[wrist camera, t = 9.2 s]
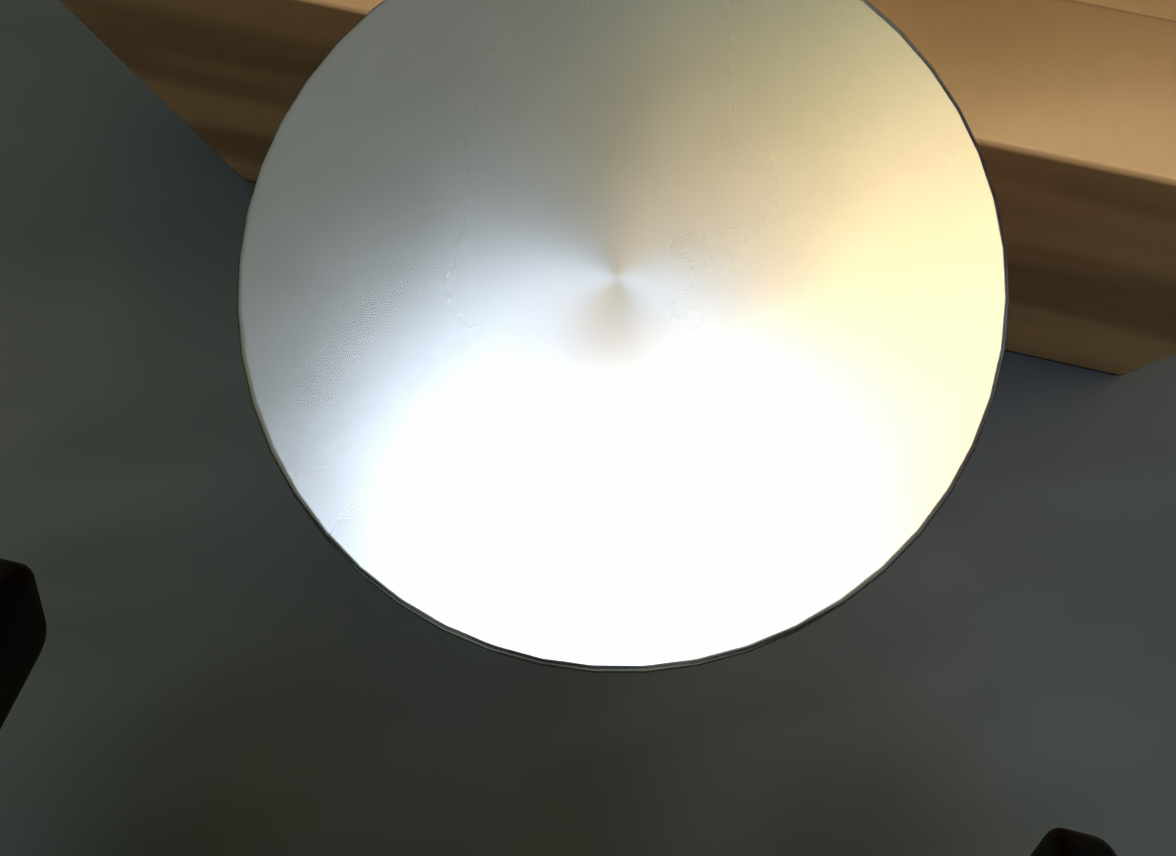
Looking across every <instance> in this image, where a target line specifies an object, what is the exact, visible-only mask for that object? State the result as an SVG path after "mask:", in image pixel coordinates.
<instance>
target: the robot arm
mask: <svg viewBox="0 0 1176 856" xmlns="http://www.w3.org/2000/svg"><path fill="white" fill-rule="evenodd" d="M45 638H46V620H45V616H44V612H43V608H42V604H41V601H40V597H39V593H38V589H37V585H36V581H35V577H34V574H33V572H32V571H31V569H30V568H29V567H27V566H26V565H24V564H21V563H17V562H13V561H9V560H5V559H1V558H0V729H1V727H2V725H3V723H4V721H5V719H6V718H7V716H8V714H9V712H10V710H11V708H12V706H13V704H14V702H15V700H16V699H17V697H18V695H19V693H20V691H21V689H22V687H23V685H24V683H25V681H26V680H27V678H28V676H29V674H30V672H31V670H32V668H33V666H34V664H35V662H36V661H37V659H38V657H39V655H40V653H41V651H42V648H43V645H44V642H45ZM1031 856H1117V855H1116V854H1115V852H1114V851H1113V850H1112V848H1111V847H1110V846H1109V845H1108V844H1107V843H1106V842H1105V841H1104V840H1102V839H1100V838H1098V837H1096V836H1092V835H1088V834H1084V833H1080V832H1077V831H1073V830H1069V829H1065V828H1055V829H1052V830H1050V831H1049V832H1048V833H1047V834H1046V835H1045V836H1044V838H1043V839H1042V840H1041V842H1040V843H1039V845H1038V846H1037V847H1036V849H1035V850H1034V851H1033V853H1032V854H1031Z"/></svg>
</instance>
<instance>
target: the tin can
mask: <svg viewBox="0 0 1176 856" xmlns="http://www.w3.org/2000/svg"><path fill="white" fill-rule="evenodd" d="M1008 310H1009V282H1008V261H1007V248H1006V242H1005V237H1004V231H1003V226H1002V221H1001V215H1000V210H999V205H998V200H997V197H996V194H995V191H994V188H993V185H992V182H991V179H990V176H989V173H988V170H987V167H986V164H985V161H984V158H983V155H982V152H981V150H980V148H979V146H978V144H977V142H976V140H975V138H974V136H973V134H972V132H971V129H970V127H969V125H968V123H967V121H966V119H965V117H964V115H963V113H962V111H961V109H960V107H959V106H958V104H957V103H956V101H955V100H954V98H953V97H952V95H951V94H950V92H949V91H948V89H947V88H946V86H945V85H944V83H943V82H942V80H941V79H940V77H939V76H938V74H937V73H936V71H935V70H934V68H933V67H932V66H931V65H930V63H929V62H928V61H927V60H926V59H925V58H924V56H923V55H922V54H921V53H920V52H919V51H918V50H917V48H916V47H915V46H914V45H913V44H912V43H911V42H910V40H909V39H908V38H907V37H906V36H905V35H904V33H903V32H902V31H901V30H900V29H899V28H897V27H896V26H895V25H894V24H893V23H892V22H891V21H890V20H888V19H887V18H886V17H885V16H884V15H883V14H882V13H881V12H879V11H878V10H877V9H876V8H875V7H874V6H873V5H871V4H870V3H869V2H868V1H867V0H384V1H383V2H382V3H380V4H379V5H377V6H376V7H375V8H373V9H372V10H371V11H370V12H369V13H368V14H367V15H366V16H365V17H364V18H363V19H362V20H361V21H359V22H358V23H357V24H356V25H355V26H354V27H353V28H352V29H351V30H350V31H349V32H348V33H347V34H346V35H345V36H344V37H343V38H342V39H341V40H340V41H339V42H338V43H337V44H336V45H335V46H334V47H333V49H332V50H331V51H330V52H329V54H328V55H327V56H326V57H325V58H324V60H323V61H322V62H321V63H320V65H319V66H318V67H317V68H316V70H315V71H314V72H313V73H312V74H311V76H310V77H309V78H308V79H307V81H306V82H305V84H304V85H303V87H302V89H301V90H300V92H299V94H298V95H297V97H296V98H295V100H294V102H293V103H292V105H291V106H290V108H289V110H288V111H287V113H286V115H285V116H284V118H283V119H282V121H281V123H280V125H279V127H278V130H277V132H276V134H275V136H274V138H273V141H272V143H271V145H270V147H269V149H268V152H267V154H266V156H265V158H264V160H263V163H262V165H261V168H260V171H259V174H258V177H257V181H256V184H255V187H254V191H253V194H252V197H251V200H250V204H249V207H248V210H247V214H246V220H245V226H244V232H243V238H242V244H241V250H240V256H239V265H238V292H237V316H238V326H239V337H240V347H241V358H242V362H243V366H244V371H245V375H246V379H247V384H248V388H249V392H250V396H251V401H252V405H253V408H254V411H255V413H256V416H257V419H258V421H259V424H260V426H261V429H262V432H263V434H264V437H265V440H266V442H267V445H268V448H269V450H270V453H271V454H272V456H273V458H274V460H275V462H276V464H277V466H278V467H279V469H280V471H281V473H282V475H283V477H284V478H285V480H286V482H287V484H288V486H289V488H290V490H291V491H292V493H293V495H294V497H295V498H296V499H297V501H298V502H299V503H300V505H301V506H302V508H303V509H304V510H305V512H306V513H307V514H308V516H309V517H310V519H311V520H312V521H313V523H314V524H315V525H316V527H317V528H318V529H319V531H320V532H321V534H322V535H323V536H324V537H325V538H326V540H327V541H328V542H329V543H330V544H331V545H332V546H333V547H334V548H335V549H336V550H337V551H338V552H339V553H340V554H341V555H342V556H343V557H344V558H345V559H346V560H347V561H348V562H349V563H350V564H351V566H352V567H353V568H354V569H355V570H356V571H357V572H358V573H359V574H361V575H362V576H363V577H364V578H366V579H367V580H368V581H369V582H371V583H372V584H373V585H374V586H376V587H377V588H378V589H379V590H381V591H382V592H383V593H384V594H386V595H387V596H388V597H390V598H391V599H392V600H393V601H395V602H396V603H397V604H398V605H400V606H402V607H403V608H405V609H407V610H408V611H410V612H412V613H413V614H415V615H417V616H418V617H420V618H422V619H423V620H425V621H427V622H428V623H430V624H432V625H434V626H435V627H437V628H439V629H440V630H442V631H444V632H446V633H449V634H451V635H453V636H456V637H458V638H460V639H463V640H465V641H467V642H470V643H472V644H474V645H477V646H479V647H481V648H484V649H486V650H488V651H491V652H494V653H498V654H502V655H505V656H509V657H513V658H516V659H520V660H523V661H527V662H531V663H534V664H538V665H542V666H549V667H557V668H564V669H571V670H579V671H586V672H609V673H646V672H654V671H661V670H669V669H677V668H684V667H692V666H699V665H702V664H706V663H710V662H713V661H717V660H721V659H725V658H728V657H732V656H736V655H739V654H743V653H747V652H750V651H752V650H755V649H757V648H759V647H762V646H764V645H767V644H769V643H771V642H774V641H776V640H778V639H781V638H783V637H786V636H788V635H790V634H793V633H795V632H797V631H799V630H801V629H803V628H804V627H806V626H808V625H809V624H811V623H813V622H814V621H816V620H818V619H820V618H821V617H823V616H825V615H826V614H828V613H830V612H831V611H833V610H835V609H836V608H838V607H840V606H842V605H843V604H844V603H846V602H847V601H848V600H850V599H851V598H852V597H853V596H855V595H856V594H857V593H858V592H860V591H861V590H862V589H864V588H865V587H866V586H867V585H869V584H870V583H871V582H872V581H874V580H875V579H876V578H877V577H879V576H880V575H881V574H883V573H884V572H885V571H886V570H887V569H888V568H889V567H890V566H891V565H892V564H893V563H894V562H895V561H896V560H897V558H898V557H899V556H900V555H901V554H902V553H903V552H904V551H905V550H906V549H907V548H908V547H909V546H910V545H911V544H912V543H913V542H914V541H915V540H916V539H917V538H918V537H919V536H920V535H921V533H922V532H923V531H924V529H925V528H926V526H927V525H928V524H929V522H930V521H931V520H932V518H933V517H934V516H935V514H936V513H937V511H938V510H939V509H940V507H941V506H942V505H943V503H944V502H945V501H946V499H947V498H948V496H949V495H950V494H951V492H952V490H953V489H954V487H955V485H956V483H957V481H958V479H959V477H960V476H961V474H962V472H963V470H964V468H965V466H966V465H967V463H968V461H969V459H970V457H971V455H972V454H973V452H974V450H975V448H976V445H977V443H978V440H979V437H980V435H981V432H982V430H983V427H984V424H985V422H986V419H987V416H988V414H989V411H990V408H991V406H992V403H993V400H994V396H995V392H996V388H997V383H998V379H999V374H1000V370H1001V366H1002V361H1003V357H1004V352H1005V344H1006V333H1007V322H1008Z"/></svg>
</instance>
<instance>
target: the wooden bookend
mask: <svg viewBox="0 0 1176 856" xmlns="http://www.w3.org/2000/svg"><path fill="white" fill-rule="evenodd" d="M60 1H61V2H62V3H63V4H64V5H65V6H66V7H67V8H68V9H69V10H70V11H71V12H72V13H73V14H74V15H75V16H76V17H77V18H78V19H79V20H80V21H81V22H82V23H83V24H84V25H85V26H86V27H88V28H89V29H90V30H91V31H92V32H93V33H94V34H95V35H96V36H97V37H98V38H99V39H100V40H101V41H102V42H103V43H104V44H105V45H106V46H107V47H108V48H109V49H110V50H111V51H112V52H113V53H114V54H115V55H116V56H117V57H118V58H119V59H120V60H121V61H122V62H124V63H125V64H126V65H127V66H128V67H129V68H130V69H131V70H132V71H133V72H134V73H135V74H136V75H137V76H138V77H139V78H140V79H141V80H142V81H143V82H144V83H145V84H146V85H147V86H148V87H149V88H150V89H151V90H152V91H153V92H154V93H155V94H156V95H157V96H158V97H159V98H161V99H162V100H163V101H164V102H165V103H166V104H167V105H168V106H169V107H170V108H171V109H172V110H173V111H174V112H175V113H176V114H177V115H178V116H179V117H180V118H181V119H182V120H183V121H184V122H185V123H186V124H187V125H188V126H189V127H190V128H191V129H192V130H193V131H194V132H195V133H197V134H198V135H199V136H200V137H201V138H202V139H203V140H204V141H205V142H206V143H207V144H208V145H209V146H210V147H211V148H212V149H213V150H214V151H215V152H216V153H217V154H218V155H219V156H220V157H221V158H222V159H223V160H224V161H225V162H226V163H227V164H228V165H229V166H230V167H231V168H232V169H234V170H235V171H236V172H237V173H238V174H239V175H240V176H241V177H242V178H243V179H245V180H250V181H254V182H256V181H257V177H258V174H259V171H260V168H261V165H262V163H263V160H264V158H265V156H266V154H267V152H268V149H269V147H270V145H271V143H272V141H273V138H274V136H275V134H276V132H277V130H278V127H279V125H280V123H281V121H282V119H283V118H284V116H285V115H286V113H287V111H288V110H289V108H290V106H291V105H292V103H293V102H294V100H295V98H296V97H297V95H298V94H299V92H300V90H301V89H302V87H303V85H304V84H305V82H306V81H307V79H308V78H309V77H310V76H311V74H312V73H313V72H314V71H315V70H316V68H317V67H318V66H319V65H320V63H321V62H322V61H323V60H324V58H325V57H326V56H327V55H328V54H329V52H330V51H331V50H332V49H333V47H334V46H335V45H336V44H337V43H338V42H339V41H340V40H341V39H342V38H343V37H344V36H345V35H346V34H347V33H348V32H349V31H350V30H351V29H352V28H353V27H354V26H355V25H356V24H357V23H358V22H359V21H361V20H362V19H363V18H364V17H365V16H366V15H367V14H368V13H369V12H370V11H371V10H372V9H373V8H375V7H376V6H377V5H379V4H380V3H382V2H383V1H384V0H60ZM867 1H868V2H869V3H870V4H871V5H873V6H874V7H875V8H876V9H877V10H878V11H879V12H881V13H882V14H883V15H884V16H885V17H886V18H887V19H888V20H890V21H891V22H892V23H893V24H894V25H895V26H896V27H897V28H899V29H900V30H901V31H902V32H903V33H904V35H905V36H906V37H907V38H908V39H909V40H910V42H911V43H912V44H913V45H914V46H915V47H916V48H917V50H918V51H919V52H920V53H921V54H922V55H923V56H924V58H925V59H926V60H927V61H928V62H929V63H930V65H931V66H932V67H933V68H934V70H935V71H936V73H937V74H938V76H939V77H940V79H941V80H942V82H943V83H944V85H945V86H946V88H947V89H948V91H949V92H950V94H951V95H952V97H953V98H954V100H955V101H956V103H957V104H958V106H959V107H960V109H961V111H962V113H963V115H964V117H965V119H966V121H967V123H968V125H969V127H970V129H971V132H972V134H973V136H974V138H975V140H976V142H977V144H978V146H979V148H980V150H981V152H982V155H983V158H984V161H985V164H986V167H987V170H988V173H989V176H990V179H991V182H992V185H993V188H994V191H995V194H996V197H997V200H998V205H999V210H1000V215H1001V221H1002V226H1003V231H1004V237H1005V242H1006V248H1007V261H1008V282H1009V310H1008V322H1007V333H1006V344H1005V350H1009V351H1014V352H1018V353H1023V354H1027V355H1032V356H1036V357H1041V358H1045V359H1050V360H1054V361H1059V362H1063V363H1068V364H1072V365H1076V366H1081V367H1085V368H1090V369H1094V370H1099V371H1103V372H1108V373H1112V374H1117V375H1123V374H1126V373H1129V372H1131V371H1134V370H1136V369H1139V368H1142V367H1144V366H1147V365H1150V364H1152V363H1155V362H1157V361H1160V360H1163V359H1165V358H1168V357H1170V356H1173V355H1176V0H867Z"/></svg>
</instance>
